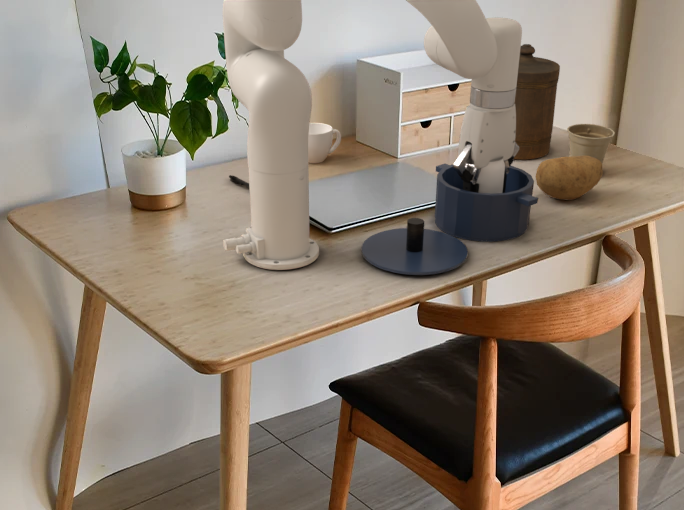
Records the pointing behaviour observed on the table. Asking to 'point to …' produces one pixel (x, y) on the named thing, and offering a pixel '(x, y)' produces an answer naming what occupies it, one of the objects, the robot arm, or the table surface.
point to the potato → (568, 176)
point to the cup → (321, 141)
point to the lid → (414, 250)
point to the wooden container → (534, 103)
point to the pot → (483, 207)
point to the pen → (238, 181)
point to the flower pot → (589, 140)
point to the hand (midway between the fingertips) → (483, 197)
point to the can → (491, 177)
